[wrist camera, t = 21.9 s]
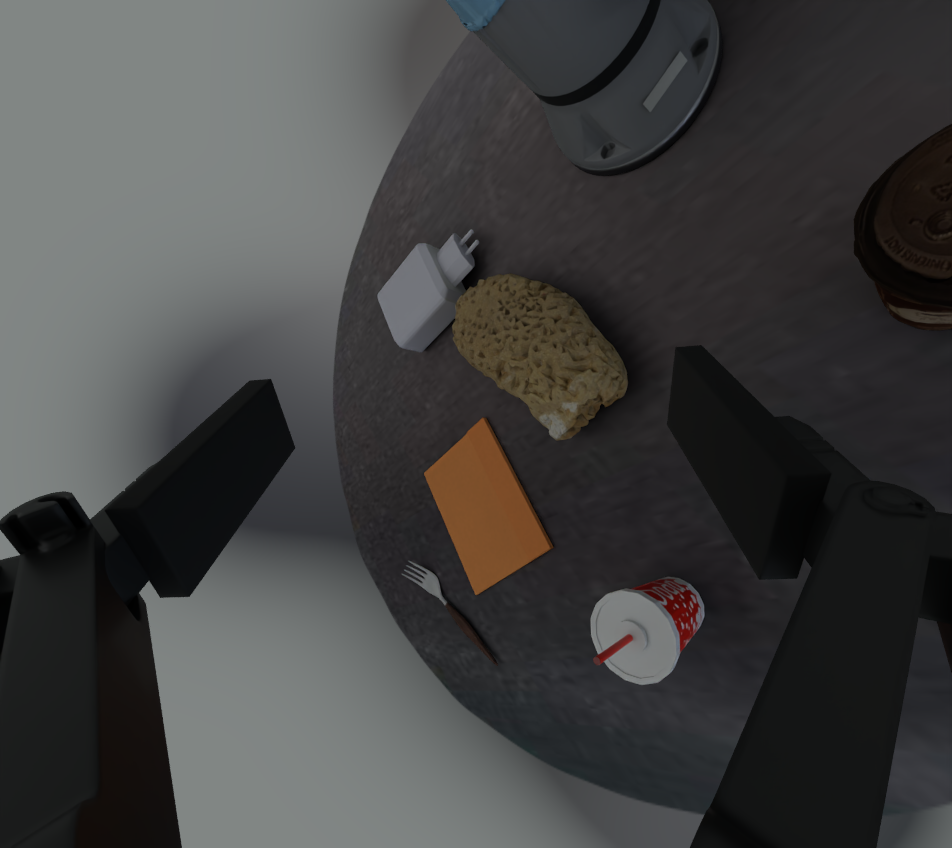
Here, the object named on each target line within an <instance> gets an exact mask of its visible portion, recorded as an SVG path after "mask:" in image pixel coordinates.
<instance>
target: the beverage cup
mask: <svg viewBox="0 0 952 848" xmlns="http://www.w3.org/2000/svg"><path fill="white" fill-rule="evenodd" d="M704 616H705V615H704V604H703V601H702V599H701V597H700V595H699V593H698V592H697V591H696V590H695V589H694V588H693V587H692V585H691V584H689V583H687V582H686V581H684V580H682V579H680V578H675V577H665V578H661V579H658V580H655V581H652V582H649V583H646V584H644V585H641V586H638V587H635V588H633V589H627V588H625V589H622V590H618V591H614V592H611V593H608V594H606V595H605V596H604V597H603V598H602V599H601V600H600V601H599V602H598V603H597V604H596V605H595V608H594V611H593V613H592V616H591V636H592V639H593V642H594V645H595V647H596V650H597V653H598V654H599V655H597V656H596V657H594V659H593V661H594V663H595V664H596V665H600V664H601V663H603V662H605V664H606V665H607V666H608V668H609V669H611V670H612V671H613V672H615V673H616V674H617V675H619V676H620V677H621V678H623V679H624V680H627V681H630V682H633V683H637V684H640V685H645V684H652V683H658V682H659V681H661V680H662V679H663V678H664V677H666V676H667V675H668V674H670V673H671V672H672V670H673V669H674V667H675V665H676V662H677V660H678V657H679V655H680V653H681V651H682V650H683V649H684V647H685V646H686V645H687V643H688V642H689V641H690V639H691V638H692V637H693V635H694V634H695V633H696V631H697V630H698V629H699V627H700V626H701V624H702V621H703V619H704Z"/></svg>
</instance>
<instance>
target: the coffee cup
mask: <svg viewBox="0 0 952 848" xmlns="http://www.w3.org/2000/svg"><path fill="white" fill-rule="evenodd" d="M854 235H855V241H854V254H855V256H856V257H858V259H859V261H860V263H861V265H862V267H863V269H864V271H865V272H866V273H867V275H868V276H869V277H870V278H871V279H872V280H873V281H874V282H875V285H876V288H877V291H878V293H879V296H880V298H881V299H882V301H883V303H884V305H885V307H886V308H887V309H888V310H889V312H890V314H891V315H892V316H893V317H894V318H895V319H897V320H898V321H900V322H903V323H905V324H908V325H910V326H913V327H915V328H918V329H923V330H946V329H952V124H951V125H948V126H947V127H945V128H943V129H942V130H940V131H939V132H937V133H935V134H934V135H932V136H930V137H929V138H927V139H926V140H924V141H923V142H921V143H920V144H918V145H917V146H916V147H914V148H913V149H912V150H910V151H909V152H908V153H906V154H905V155H904V156H902V157H900V158H899V159H898V160H896V161H895V162H894V163H893V164H892V165H891V166H890V167H889V168H888V169H887V170H886V171H885V172H884V173H883V174H882V175H881V176H880V177H879V179H878V180H877V181H876V182H874V183H873V185H872V186H871V187H870V188H869V190H868V192H867V194H866V196H865V197H864V199H863V200H862V202H861V204H860V206H859V208H858V210H857V212H856V215H855V218H854Z"/></svg>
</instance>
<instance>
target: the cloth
mask: <svg viewBox="0 0 952 848" xmlns="http://www.w3.org/2000/svg"><path fill="white" fill-rule="evenodd" d="M424 475H425V477H426V480H427V482H428V484H429V487H430V489H431V491H432V494H433V496H434V498H435V501H436V503H437V505H438V508H439V510H440V512H441V515H442V517H443V520H444V522H445V524H446V527H447V529H448V531H449V534H450V536H451V538H452V541H453V543H454V545H455V548H456V550H457V552H458V555H459V557H460V559H461V562H462V564H463V566H464V569H465V571H466V573H467V576H468V578H469V581H470V583H471V585H472V588H473V590H474V592H475V595H478V594H479V593H481V592H483V591H484V590H486V589H488V588H489V587H491V586H492V585H494V584H496V583H497V582H499V581H500V580H502V579H504V578H505V577H507V576H508V575H510V574H512V573H513V572H515V571H517V570H518V569H520V568H521V567H523V566H525V565H526V564H528V563H529V562H531V561H533V560H534V559H536V558H537V557H539V556H541V555H542V554H544V553H546V552H547V551H549V550H550V549H552V548H553V545H552V543H551V541H550V540H549V538H548V536H547V534H546V532H545V530H544V528H543V526H542V524H541V522H540V520H539V518H538V516H537V515H536V513H535V511H534V509H533V507H532V505H531V503H530V501H529V499H528V497H527V495H526V493H525V491H524V490H523V488H522V486H521V484H520V482H519V480H518V478H517V476H516V474H515V472H514V470H513V468H512V466H511V464H510V463H509V461H508V459H507V457H506V455H505V453H504V451H503V449H502V447H501V445H500V443H499V441H498V439H497V438H496V436H495V434H494V432H493V430H492V428H491V426H490V424H489V422H488V420H487V418H482V419H481V420H480V421H479V422H478V423H477V424H475V425H474V426H473V427H472V428H471V429H470V430H469V431H468V432H467V434H466V435H465V436H464V437H463V438H462V439H461V440H460V441H459V442H458V443H457V444H455V445H454V446H453V447H452V448H451V449H450V450H449V451H448V452H447V453H446V454H445V455H443V456H442V457H441V458H440V459H439V460H438V461H437V462H436V463H435V464H434V465H432V466H431V467H430V468H429V469H428V470H427V471H426V472H425V473H424Z"/></svg>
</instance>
